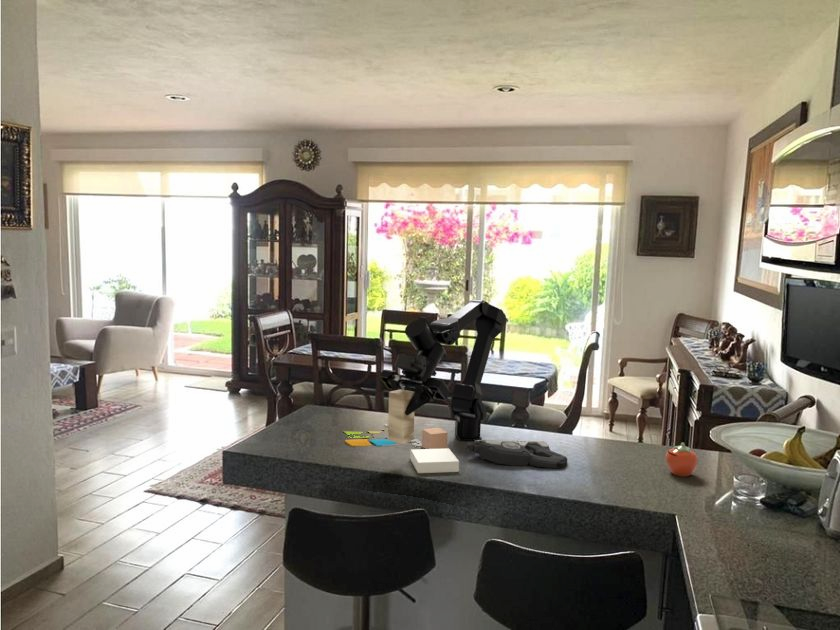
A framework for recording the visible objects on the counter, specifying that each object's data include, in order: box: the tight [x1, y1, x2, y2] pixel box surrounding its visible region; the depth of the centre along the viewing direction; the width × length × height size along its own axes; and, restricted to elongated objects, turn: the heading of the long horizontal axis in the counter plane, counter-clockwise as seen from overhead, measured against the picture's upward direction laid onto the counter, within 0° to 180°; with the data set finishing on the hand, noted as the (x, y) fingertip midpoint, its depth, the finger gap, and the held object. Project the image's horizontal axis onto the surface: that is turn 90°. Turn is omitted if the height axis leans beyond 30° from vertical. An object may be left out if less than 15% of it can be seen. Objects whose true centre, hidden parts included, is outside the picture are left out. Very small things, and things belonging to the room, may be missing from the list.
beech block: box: [387, 389, 415, 445], centre depth 148 cm, size 4×4×12 cm
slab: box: [410, 447, 460, 474], centre depth 149 cm, size 10×10×3 cm
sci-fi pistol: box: [465, 439, 568, 469], centre depth 155 cm, size 4×24×15 cm
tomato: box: [665, 442, 699, 477], centre depth 149 cm, size 7×7×8 cm
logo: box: [342, 423, 422, 448], centre depth 171 cm, size 23×1×20 cm
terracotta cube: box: [421, 427, 448, 449], centre depth 163 cm, size 5×5×5 cm
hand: (398, 412), depth 146 cm, fingers closed on beech block, 4 cm apart
